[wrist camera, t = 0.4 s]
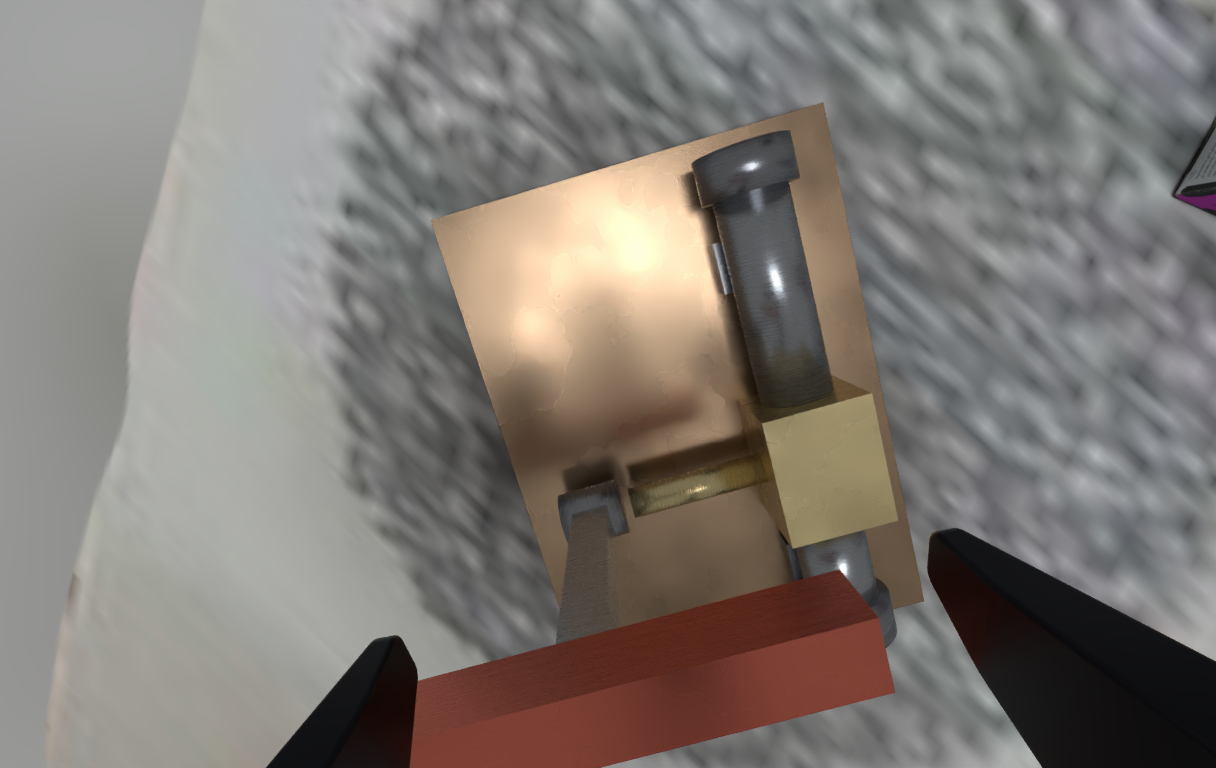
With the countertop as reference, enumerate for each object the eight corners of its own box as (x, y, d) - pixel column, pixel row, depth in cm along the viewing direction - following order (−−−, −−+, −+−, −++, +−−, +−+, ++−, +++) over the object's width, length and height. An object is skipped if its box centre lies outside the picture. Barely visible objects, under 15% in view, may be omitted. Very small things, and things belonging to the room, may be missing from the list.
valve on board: (910, 587, 28) (980, 658, 23) (587, 671, 28) (584, 759, 23) (812, 110, 24) (870, 66, 19) (438, 222, 24) (395, 209, 19)
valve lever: (748, 486, 25) (896, 700, 12) (457, 565, 25) (317, 847, 13) (736, 438, 24) (876, 609, 12) (440, 520, 25) (279, 765, 12)
